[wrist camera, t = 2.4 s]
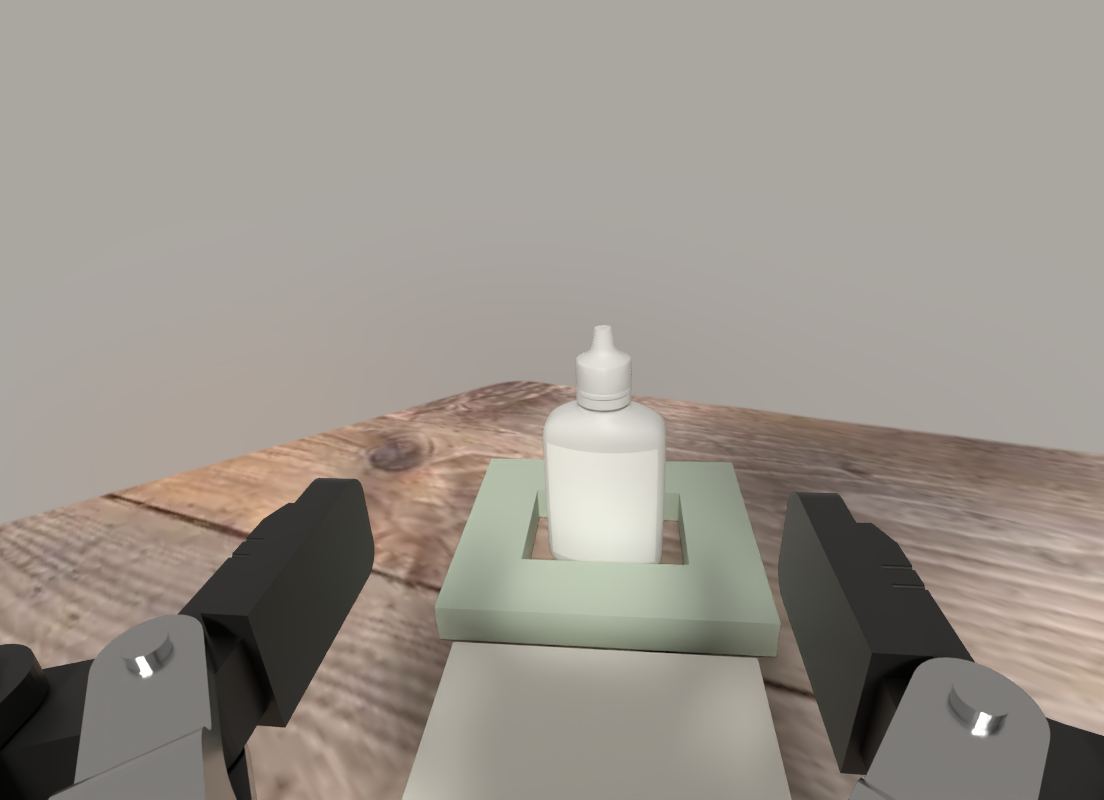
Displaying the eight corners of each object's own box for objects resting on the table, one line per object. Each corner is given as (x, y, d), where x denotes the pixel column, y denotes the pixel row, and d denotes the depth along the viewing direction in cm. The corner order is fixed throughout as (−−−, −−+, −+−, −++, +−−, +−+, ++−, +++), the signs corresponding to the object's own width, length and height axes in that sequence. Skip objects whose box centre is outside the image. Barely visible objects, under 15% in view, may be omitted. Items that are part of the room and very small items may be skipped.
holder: (729, 488, 35) (731, 462, 34) (775, 656, 24) (781, 623, 23) (494, 483, 36) (491, 458, 36) (439, 638, 26) (434, 607, 25)
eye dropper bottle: (627, 602, 27) (629, 357, 22) (536, 553, 30) (518, 330, 25) (677, 552, 30) (688, 325, 25) (588, 512, 33) (582, 305, 28)
